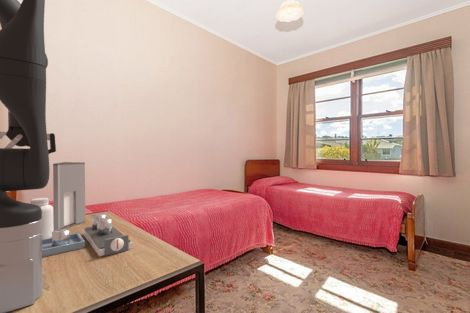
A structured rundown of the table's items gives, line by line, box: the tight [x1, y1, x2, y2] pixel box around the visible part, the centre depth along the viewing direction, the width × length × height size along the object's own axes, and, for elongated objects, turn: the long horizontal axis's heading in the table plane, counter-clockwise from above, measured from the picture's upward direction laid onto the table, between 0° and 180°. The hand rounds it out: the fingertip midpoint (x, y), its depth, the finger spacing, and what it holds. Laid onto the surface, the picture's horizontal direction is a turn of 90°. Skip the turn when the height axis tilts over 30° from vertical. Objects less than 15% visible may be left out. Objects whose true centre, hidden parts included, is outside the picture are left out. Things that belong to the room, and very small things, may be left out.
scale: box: [82, 225, 133, 257], centre depth 88 cm, size 29×10×5 cm, turn 41°
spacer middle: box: [97, 217, 113, 235], centre depth 89 cm, size 5×5×5 cm
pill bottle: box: [30, 197, 54, 239], centre depth 91 cm, size 8×8×15 cm
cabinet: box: [52, 161, 86, 231], centre depth 109 cm, size 21×10×28 cm, turn 25°
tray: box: [42, 232, 86, 258], centre depth 82 cm, size 12×12×2 cm
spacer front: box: [51, 228, 71, 247], centre depth 82 cm, size 5×5×5 cm
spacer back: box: [91, 212, 107, 229], centre depth 96 cm, size 5×5×5 cm
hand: (26, 167), depth 72 cm, fingers open, 8 cm apart
